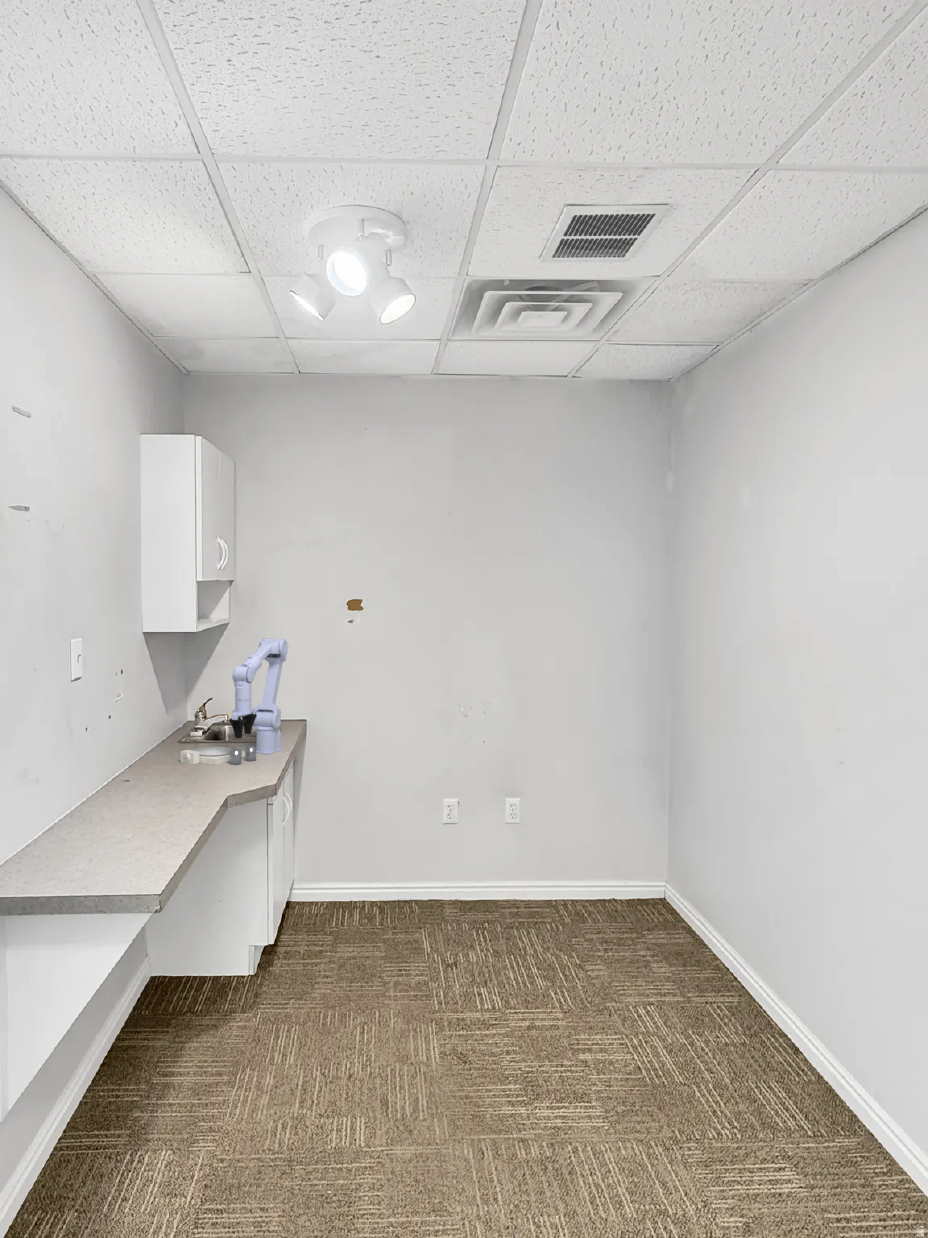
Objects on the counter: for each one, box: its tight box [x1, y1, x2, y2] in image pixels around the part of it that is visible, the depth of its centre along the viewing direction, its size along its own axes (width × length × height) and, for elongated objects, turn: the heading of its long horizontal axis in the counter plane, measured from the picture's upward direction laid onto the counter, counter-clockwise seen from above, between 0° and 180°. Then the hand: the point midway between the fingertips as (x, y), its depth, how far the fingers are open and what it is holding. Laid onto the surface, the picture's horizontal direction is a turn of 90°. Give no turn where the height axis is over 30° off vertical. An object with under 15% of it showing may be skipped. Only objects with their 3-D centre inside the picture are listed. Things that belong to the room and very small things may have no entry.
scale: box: [180, 745, 245, 765], centre depth 309 cm, size 20×16×4 cm
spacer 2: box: [244, 745, 257, 763], centre depth 309 cm, size 4×4×5 cm
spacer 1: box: [229, 748, 243, 766], centre depth 303 cm, size 4×4×5 cm
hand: (243, 736), depth 306 cm, fingers open, 7 cm apart
